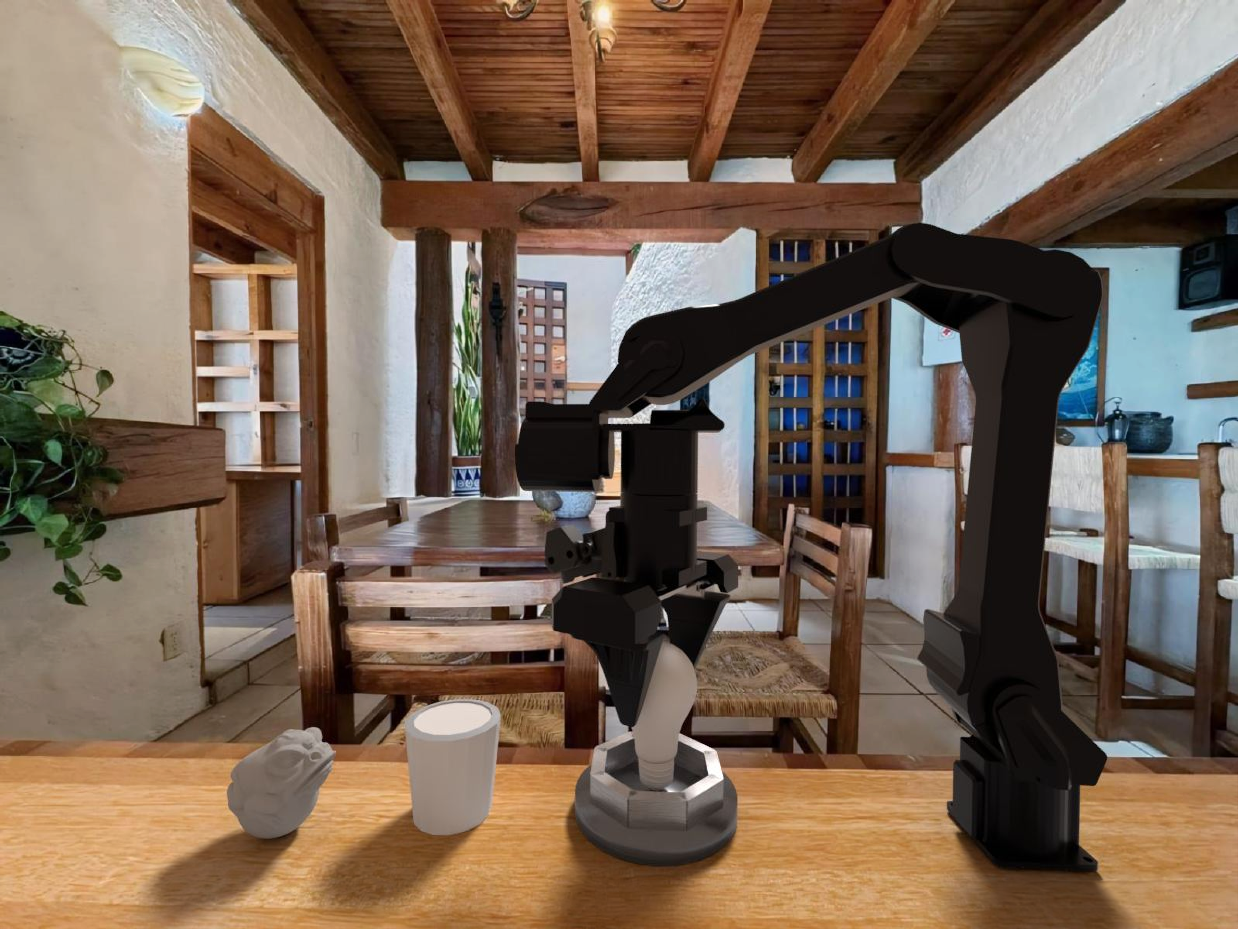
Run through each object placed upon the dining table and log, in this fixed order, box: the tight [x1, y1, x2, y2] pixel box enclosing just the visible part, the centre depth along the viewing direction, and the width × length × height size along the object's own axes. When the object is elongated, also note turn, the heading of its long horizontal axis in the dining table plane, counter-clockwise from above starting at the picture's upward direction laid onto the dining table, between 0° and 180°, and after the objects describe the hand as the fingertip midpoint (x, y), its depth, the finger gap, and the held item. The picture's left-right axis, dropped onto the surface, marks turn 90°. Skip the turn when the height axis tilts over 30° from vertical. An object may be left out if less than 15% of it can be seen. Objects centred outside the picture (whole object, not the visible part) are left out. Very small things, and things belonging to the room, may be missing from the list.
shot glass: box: [404, 698, 502, 836], centre depth 42 cm, size 7×7×7 cm
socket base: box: [574, 730, 739, 867], centre depth 43 cm, size 12×12×4 cm
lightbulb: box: [631, 640, 698, 791], centre depth 43 cm, size 6×6×11 cm
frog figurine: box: [226, 726, 337, 840], centre depth 40 cm, size 6×7×7 cm
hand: (656, 702), depth 43 cm, fingers open, 8 cm apart
